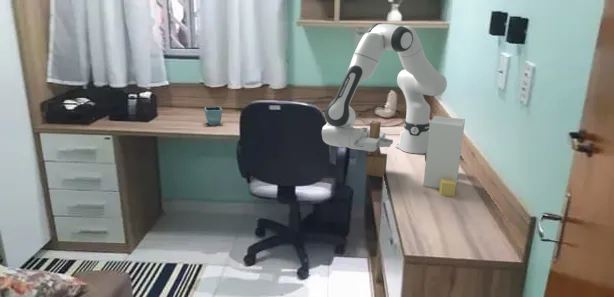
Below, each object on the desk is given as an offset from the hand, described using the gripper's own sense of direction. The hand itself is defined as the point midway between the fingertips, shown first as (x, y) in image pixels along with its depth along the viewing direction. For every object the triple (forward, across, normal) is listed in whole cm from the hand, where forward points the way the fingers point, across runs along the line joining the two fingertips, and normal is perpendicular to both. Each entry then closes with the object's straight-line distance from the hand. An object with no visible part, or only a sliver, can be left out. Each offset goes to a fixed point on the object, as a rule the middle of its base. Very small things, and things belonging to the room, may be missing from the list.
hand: (391, 143), depth 205 cm
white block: (+21, 0, +14) cm, 25 cm away
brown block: (-9, 0, +3) cm, 10 cm away
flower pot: (-108, +39, +14) cm, 116 cm away
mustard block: (+25, -10, +14) cm, 30 cm away
